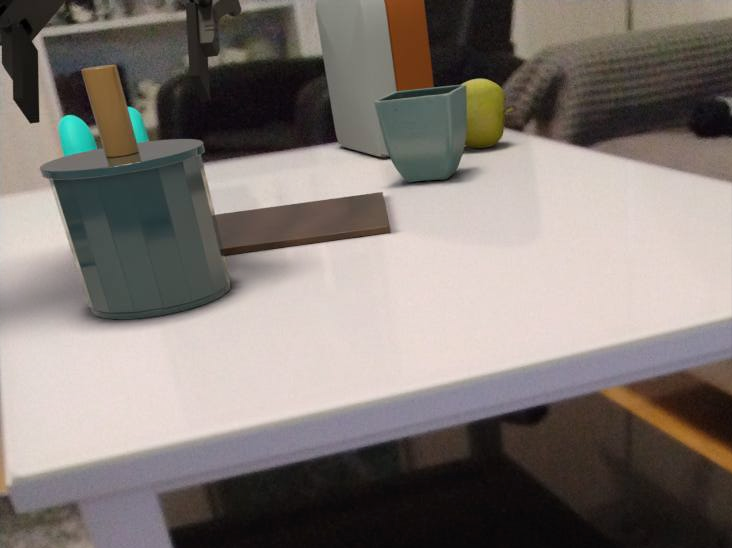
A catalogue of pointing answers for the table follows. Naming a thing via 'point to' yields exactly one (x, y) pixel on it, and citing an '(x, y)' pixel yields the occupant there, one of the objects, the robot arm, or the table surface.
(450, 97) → the flower pot
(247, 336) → the table surface
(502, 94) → the apple
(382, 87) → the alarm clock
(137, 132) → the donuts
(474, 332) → the table surface
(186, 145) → the lid
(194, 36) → the robot arm
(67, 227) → the canister
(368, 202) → the board
